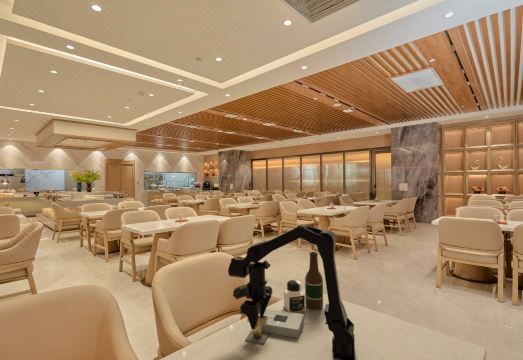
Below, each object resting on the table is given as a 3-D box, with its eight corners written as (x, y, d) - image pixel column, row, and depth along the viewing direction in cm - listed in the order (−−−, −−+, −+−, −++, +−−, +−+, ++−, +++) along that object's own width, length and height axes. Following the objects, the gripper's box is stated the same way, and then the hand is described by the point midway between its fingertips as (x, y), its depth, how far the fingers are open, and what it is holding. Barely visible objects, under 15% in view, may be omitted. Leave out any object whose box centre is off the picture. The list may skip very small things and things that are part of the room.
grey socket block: (303, 321, 111) (303, 313, 111) (298, 337, 99) (298, 329, 99) (265, 315, 116) (265, 308, 116) (256, 330, 104) (256, 322, 104)
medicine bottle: (289, 313, 118) (289, 285, 118) (283, 306, 125) (283, 279, 125) (305, 311, 120) (304, 283, 120) (298, 304, 127) (298, 277, 127)
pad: (269, 333, 102) (269, 332, 102) (263, 344, 96) (263, 343, 96) (251, 330, 104) (251, 329, 104) (244, 341, 98) (244, 339, 98)
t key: (250, 332, 103) (249, 312, 103) (268, 335, 100) (267, 315, 100) (246, 337, 100) (246, 317, 100) (265, 340, 97) (265, 320, 97)
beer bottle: (323, 311, 120) (322, 255, 120) (304, 309, 121) (304, 254, 121) (322, 303, 127) (322, 250, 128) (305, 301, 129) (305, 250, 129)
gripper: (245, 269, 112) (246, 308, 111) (225, 286, 94) (225, 332, 94) (272, 271, 108) (272, 312, 108) (256, 289, 90) (257, 338, 90)
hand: (257, 322), depth 100 cm, fingers open, 9 cm apart
